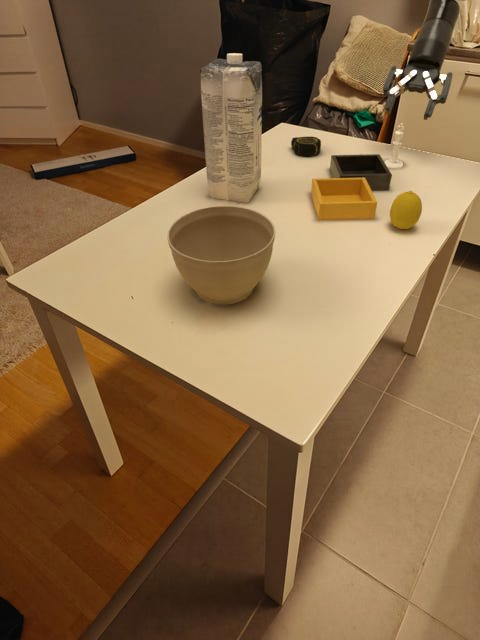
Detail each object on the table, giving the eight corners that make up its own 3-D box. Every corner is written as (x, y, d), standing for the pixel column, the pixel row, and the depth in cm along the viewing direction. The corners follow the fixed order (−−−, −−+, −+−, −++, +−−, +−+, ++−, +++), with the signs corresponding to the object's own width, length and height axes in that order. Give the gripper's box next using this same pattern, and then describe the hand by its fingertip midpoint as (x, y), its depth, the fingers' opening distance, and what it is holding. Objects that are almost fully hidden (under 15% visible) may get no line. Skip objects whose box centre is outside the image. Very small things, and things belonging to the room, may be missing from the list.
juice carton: (250, 208, 96) (250, 63, 78) (204, 200, 99) (194, 59, 81) (263, 189, 102) (266, 52, 84) (219, 183, 105) (213, 48, 87)
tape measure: (316, 148, 119) (318, 133, 117) (322, 159, 114) (324, 143, 112) (290, 149, 119) (291, 135, 116) (295, 160, 114) (296, 145, 111)
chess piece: (395, 172, 108) (404, 129, 101) (377, 166, 110) (385, 123, 104) (407, 166, 110) (417, 123, 103) (389, 160, 113) (398, 118, 106)
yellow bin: (361, 195, 100) (364, 177, 97) (373, 221, 91) (377, 202, 89) (310, 196, 99) (312, 178, 97) (317, 222, 91) (320, 203, 88)
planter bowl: (244, 251, 84) (244, 196, 77) (291, 300, 73) (295, 242, 66) (161, 276, 79) (152, 219, 71) (198, 333, 68) (192, 273, 61)
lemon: (396, 219, 92) (405, 181, 86) (421, 229, 89) (432, 191, 83) (380, 230, 89) (388, 191, 83) (406, 240, 86) (416, 201, 80)
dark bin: (376, 171, 108) (379, 154, 106) (388, 192, 100) (392, 174, 97) (329, 172, 108) (331, 155, 106) (337, 193, 100) (339, 176, 97)
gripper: (398, 34, 105) (374, 102, 105) (464, 39, 99) (439, 111, 100) (399, 55, 112) (377, 119, 112) (461, 61, 106) (437, 128, 107)
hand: (406, 115), depth 106 cm, fingers open, 8 cm apart
